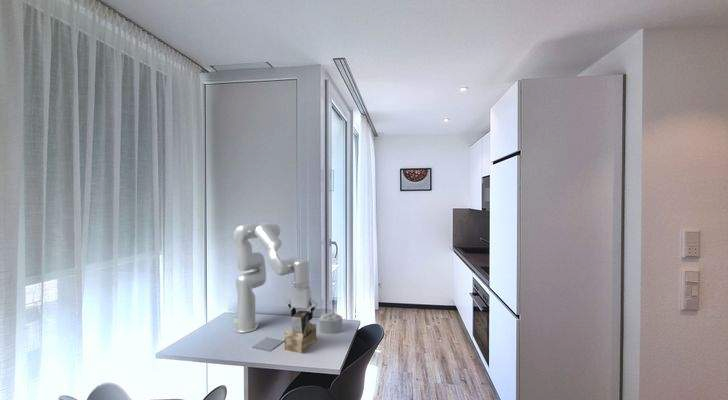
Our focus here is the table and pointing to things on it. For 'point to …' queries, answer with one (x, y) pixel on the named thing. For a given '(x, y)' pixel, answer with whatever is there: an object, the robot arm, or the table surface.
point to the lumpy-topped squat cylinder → (330, 323)
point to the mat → (268, 344)
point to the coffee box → (301, 323)
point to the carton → (300, 340)
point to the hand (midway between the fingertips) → (301, 318)
